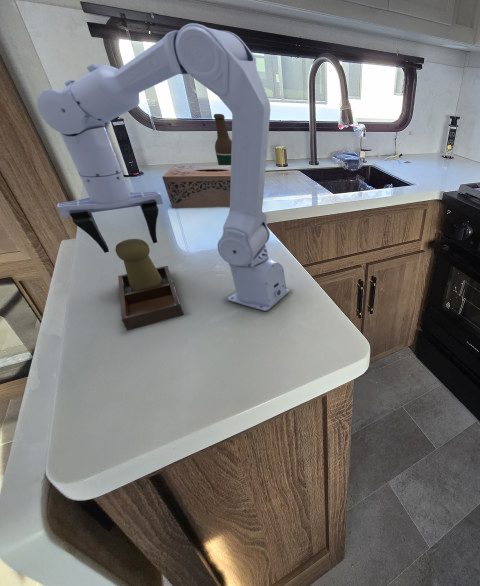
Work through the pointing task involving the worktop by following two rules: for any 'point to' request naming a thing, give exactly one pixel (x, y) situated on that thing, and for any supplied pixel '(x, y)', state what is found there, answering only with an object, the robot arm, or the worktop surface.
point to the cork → (138, 264)
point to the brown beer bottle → (222, 141)
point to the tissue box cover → (198, 186)
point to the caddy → (148, 302)
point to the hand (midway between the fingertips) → (131, 245)
